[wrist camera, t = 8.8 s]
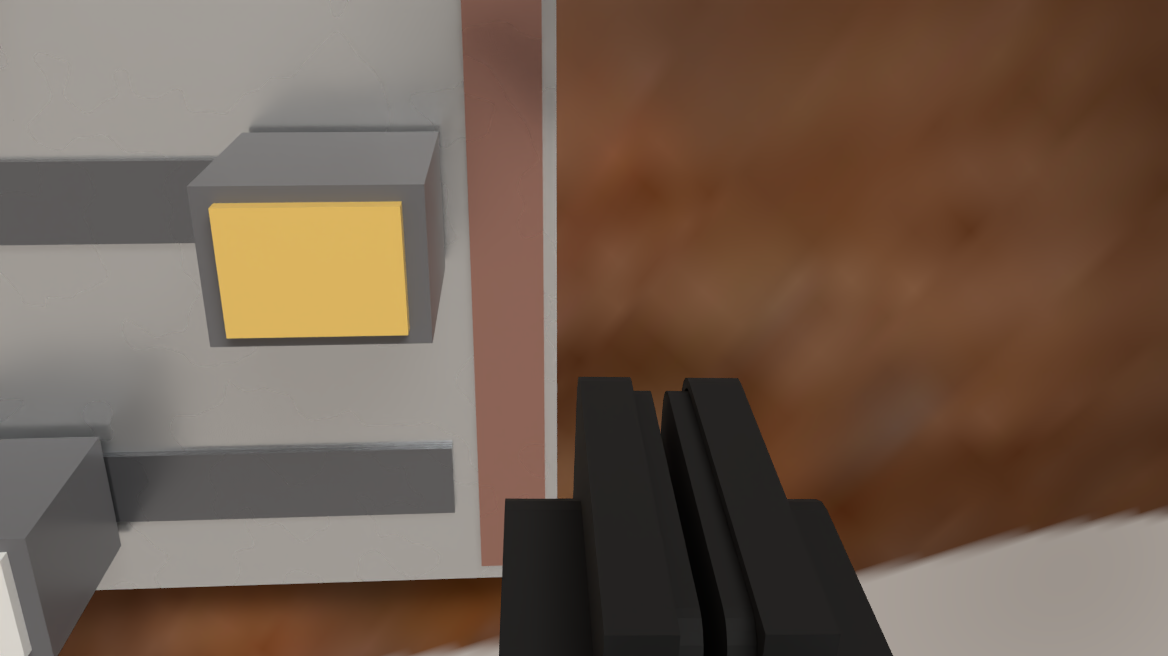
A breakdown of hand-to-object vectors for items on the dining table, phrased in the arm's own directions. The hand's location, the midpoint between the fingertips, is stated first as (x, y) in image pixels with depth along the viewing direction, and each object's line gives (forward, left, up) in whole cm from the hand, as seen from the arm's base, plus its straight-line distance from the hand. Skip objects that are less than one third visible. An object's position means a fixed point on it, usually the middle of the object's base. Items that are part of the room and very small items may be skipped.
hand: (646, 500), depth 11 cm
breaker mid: (0, -5, -12) cm, 13 cm away
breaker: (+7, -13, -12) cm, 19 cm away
